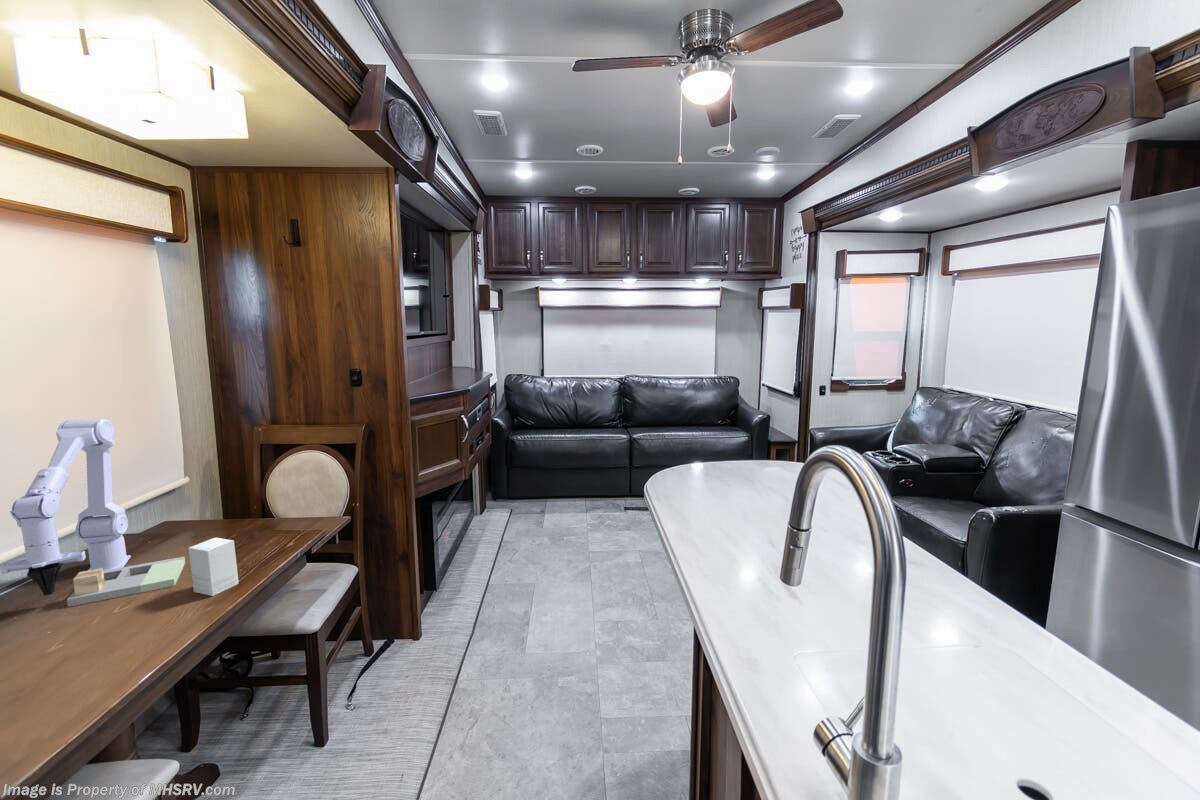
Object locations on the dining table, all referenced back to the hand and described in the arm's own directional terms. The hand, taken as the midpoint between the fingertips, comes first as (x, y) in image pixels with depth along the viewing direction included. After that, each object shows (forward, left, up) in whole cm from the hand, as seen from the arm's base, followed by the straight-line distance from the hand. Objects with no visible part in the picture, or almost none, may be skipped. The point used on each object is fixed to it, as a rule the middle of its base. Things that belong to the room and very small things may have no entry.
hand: (49, 593), depth 130 cm
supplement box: (+10, +35, -3) cm, 37 cm away
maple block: (0, +8, -1) cm, 8 cm away
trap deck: (-5, +15, -3) cm, 16 cm away
